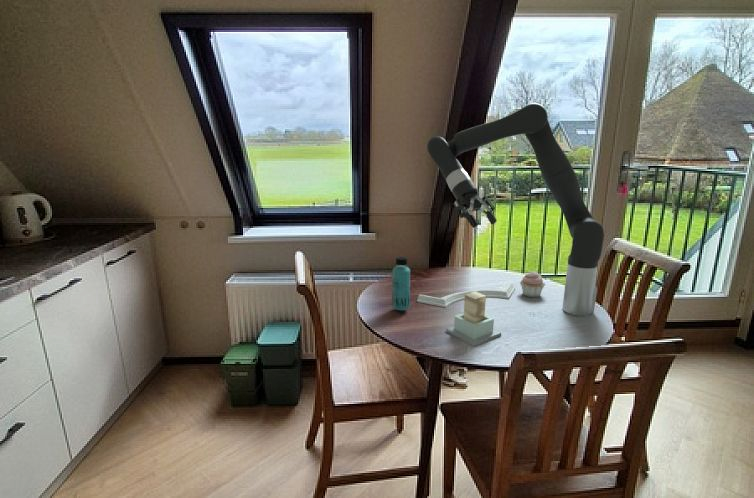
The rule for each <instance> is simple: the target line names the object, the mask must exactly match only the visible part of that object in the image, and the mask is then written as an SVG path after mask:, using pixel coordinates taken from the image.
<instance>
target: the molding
mask: <svg viewBox="0 0 754 498" xmlns="http://www.w3.org/2000/svg"><path fill="white" fill-rule="evenodd" d="M515 290H516V286H514V285H513V283H512V282H509V283H507V285H505V284H503V285H501V286H500V287H499V288H498V289H475V290H466V291H461V292H455V293H451V294H448V295H445V296H442V297H436V296H430V295H425V294H418V296H417V299H416V302H418V303H420V304H421V303H422V304H427V305H432V306H437V307H443V308H448V307H449V306H450V305H453V304H454V303H457V302H460V301H464V300H465V294H468V293H471V292H478V293H480V294H483V295H485V296H486V298H496V299H505V300H506V299H507V300H509V299H510V298H511V296H512V295H513V294H514V292H515Z"/></svg>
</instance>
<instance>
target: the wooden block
mask: <svg viewBox="0 0 754 498" xmlns="http://www.w3.org/2000/svg"><path fill="white" fill-rule="evenodd" d="M486 299H487V297H486V296H485V295H483V294H480V293H478V292H471V293H468V294H465V299H464V300H463V301H464V302H463V313H464V319H465V320H467V321H469V322H472V323H474V324H476V323H478V322H481V321H484V319H485V315H486Z"/></svg>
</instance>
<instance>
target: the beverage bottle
mask: <svg viewBox="0 0 754 498" xmlns="http://www.w3.org/2000/svg"><path fill="white" fill-rule="evenodd" d="M408 264H409V263H408V258H407V257H406V256H397V257H396V258H395V265H396V266H394V268H392V279H391V280H392V282H391V284H392V294H391V300H392V301H391V303H392V308H393V309H394V310H398V311H406V310H409V308H410V307H411V269H410V268H409V267H408V266H407V265H408Z"/></svg>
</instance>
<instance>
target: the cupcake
mask: <svg viewBox="0 0 754 498" xmlns="http://www.w3.org/2000/svg"><path fill="white" fill-rule="evenodd" d="M519 284H520V286H521V290H522V294H523V296H525V297H528V298H538V297H540V296H541V295H542V291H543V289H544V287H545V286H546V283H544V280H543V277H542V276H541V275H540V274H539V273H538V272H536V271H535V270H533V269H532V271H531V272H528V273H525V275H524V276H523V277H522V279H521V280H520V281H519Z"/></svg>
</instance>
